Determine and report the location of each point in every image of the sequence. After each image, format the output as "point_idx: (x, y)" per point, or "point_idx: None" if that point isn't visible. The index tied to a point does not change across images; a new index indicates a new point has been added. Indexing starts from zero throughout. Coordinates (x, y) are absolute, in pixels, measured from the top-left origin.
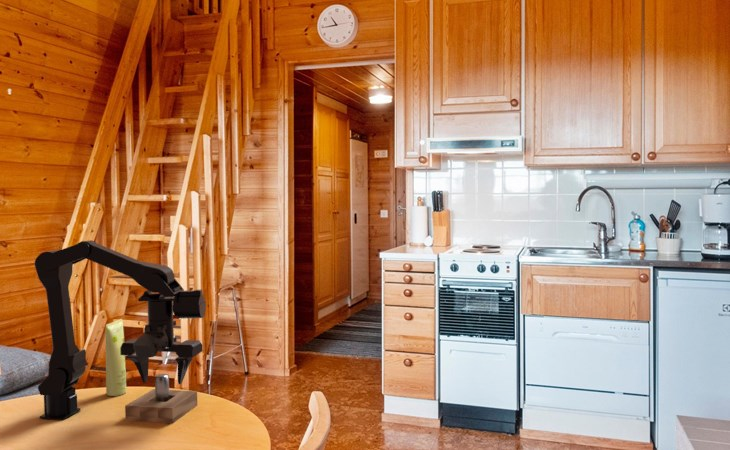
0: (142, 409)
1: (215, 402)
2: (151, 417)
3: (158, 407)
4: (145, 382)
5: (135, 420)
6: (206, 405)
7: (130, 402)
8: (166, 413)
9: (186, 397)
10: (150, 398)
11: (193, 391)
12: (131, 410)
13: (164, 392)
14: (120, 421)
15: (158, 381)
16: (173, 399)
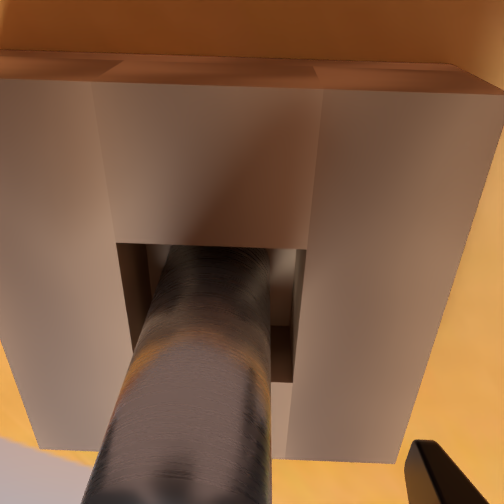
0: (284, 80)
1: (5, 408)
2: (191, 64)
3: (78, 80)
4: (411, 447)
5: (354, 63)
6: None
7: (480, 195)
8: (11, 66)
9: (15, 347)
10: (319, 305)
11: (61, 444)
12: (414, 79)
13: (146, 333)
14: (491, 37)
15: (176, 428)
16: (90, 300)
